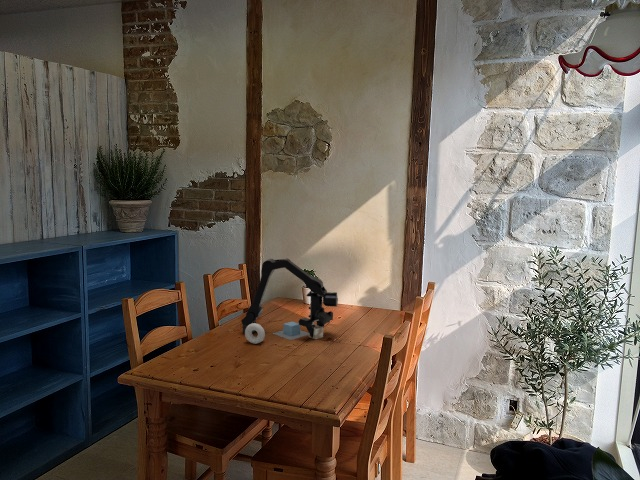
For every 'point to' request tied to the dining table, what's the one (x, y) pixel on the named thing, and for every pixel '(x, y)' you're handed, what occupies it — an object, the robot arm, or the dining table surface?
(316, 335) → the top brick
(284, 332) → the bottom brick
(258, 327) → the donut
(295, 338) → the base mat
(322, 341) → the dining table surface
